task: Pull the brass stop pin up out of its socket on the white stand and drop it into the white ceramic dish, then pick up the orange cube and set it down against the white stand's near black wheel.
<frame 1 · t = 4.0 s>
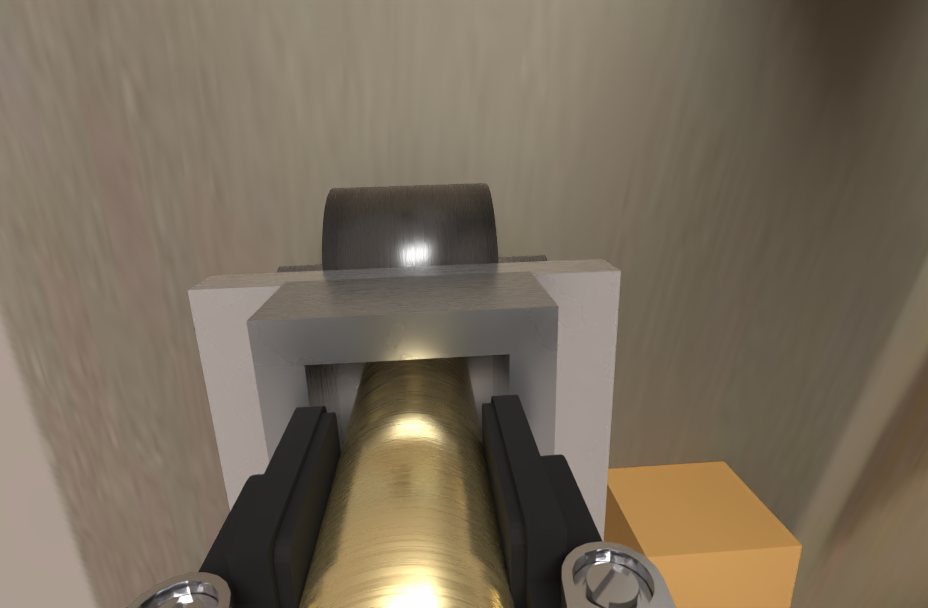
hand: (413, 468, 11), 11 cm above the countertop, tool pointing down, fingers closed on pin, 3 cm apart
pin: (416, 387, 14), point 8 cm above the countertop, touching gripper, white stand
white stand: (422, 371, 22), on the countertop
orange cube: (657, 508, 25), on the countertop
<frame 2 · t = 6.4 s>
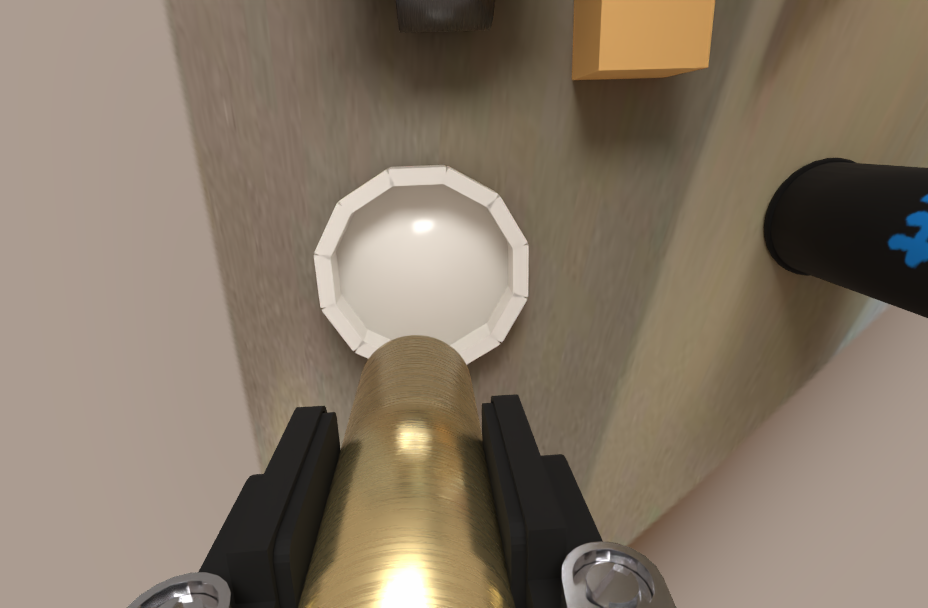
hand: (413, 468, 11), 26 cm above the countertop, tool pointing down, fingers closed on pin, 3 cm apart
aerosol can: (817, 217, 37), on the countertop
pin: (415, 387, 14), point 22 cm above the countertop, touching gripper
dish: (424, 265, 36), on the countertop
orange cube: (620, 35, 32), on the countertop
when the fingers open (6 cm above the countertop, at t = 9.1 s): pin drops 2 cm, resting on dish.
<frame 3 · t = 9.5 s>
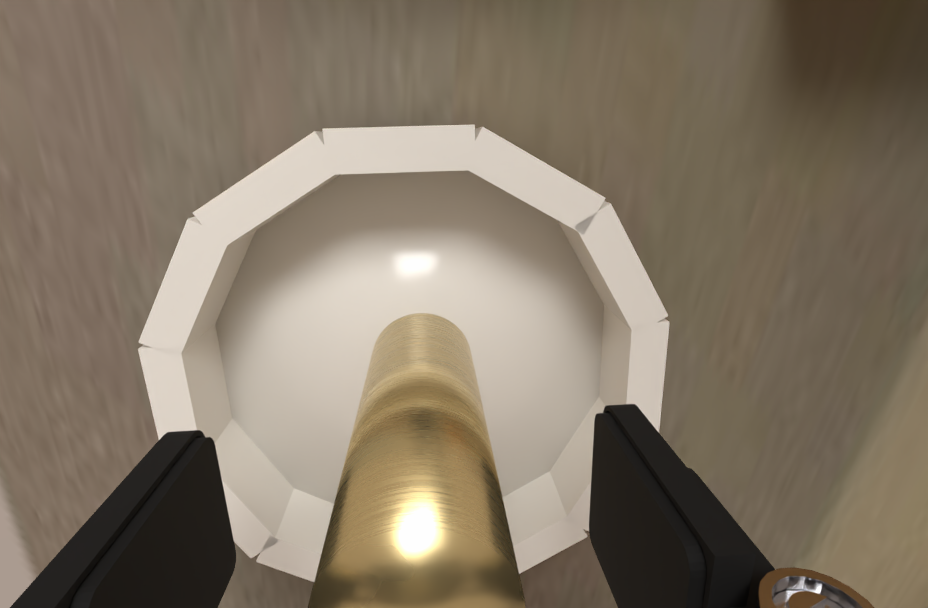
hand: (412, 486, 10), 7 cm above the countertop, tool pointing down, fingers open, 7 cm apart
pin: (421, 360, 16), point 1 cm above the countertop, touching dish
dish: (417, 351, 17), on the countertop
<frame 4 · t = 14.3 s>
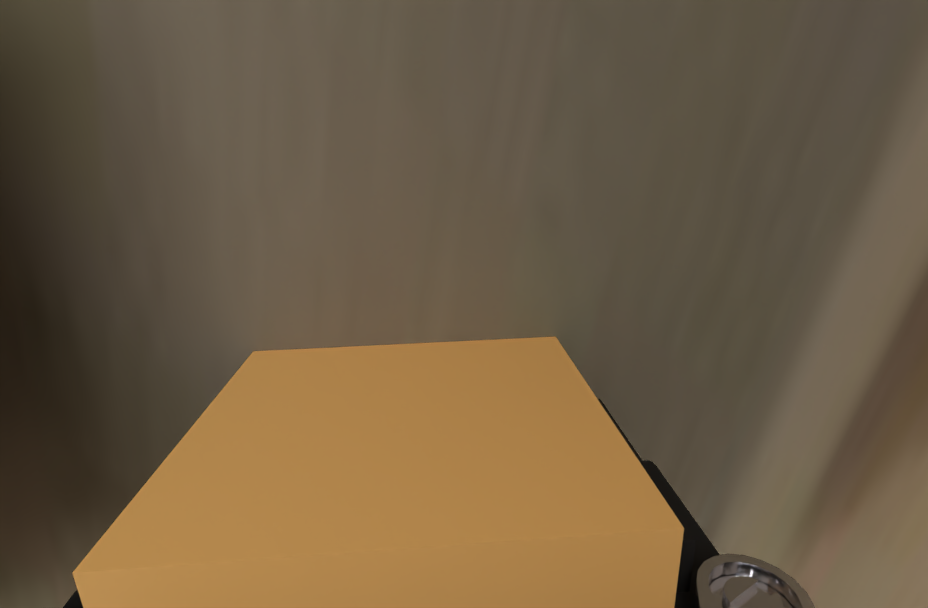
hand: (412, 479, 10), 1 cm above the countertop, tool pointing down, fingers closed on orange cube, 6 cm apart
orange cube: (413, 452, 11), on the countertop, touching gripper
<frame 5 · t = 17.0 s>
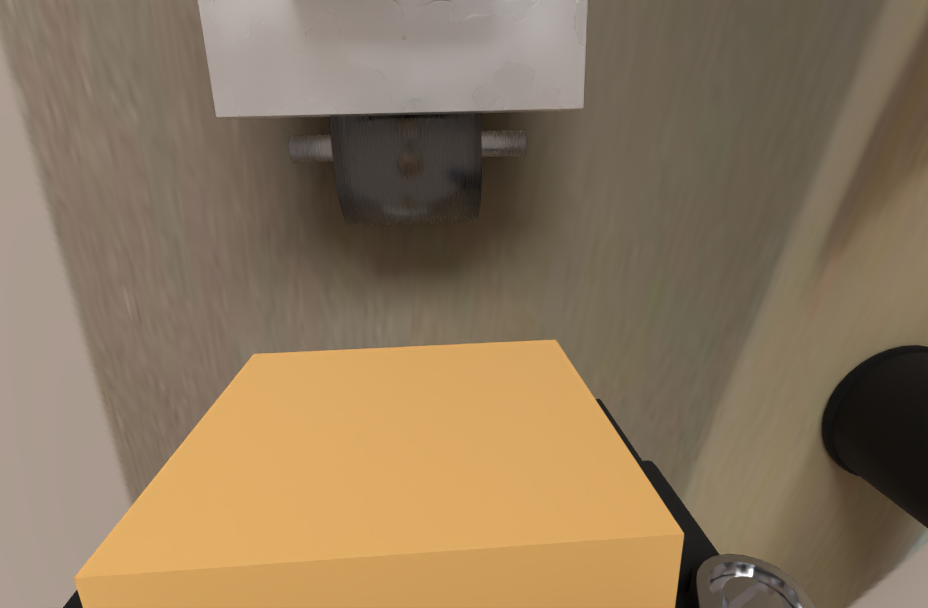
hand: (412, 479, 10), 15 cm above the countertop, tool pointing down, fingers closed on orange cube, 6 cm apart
aerosol can: (888, 410, 29), on the countertop
white stand: (404, 19, 22), on the countertop
orange cube: (413, 455, 11), point 15 cm above the countertop, touching gripper
when the fingers open (2 cm above the countertop, at t = 19.9 s): orange cube drops 1 cm, on the countertop.
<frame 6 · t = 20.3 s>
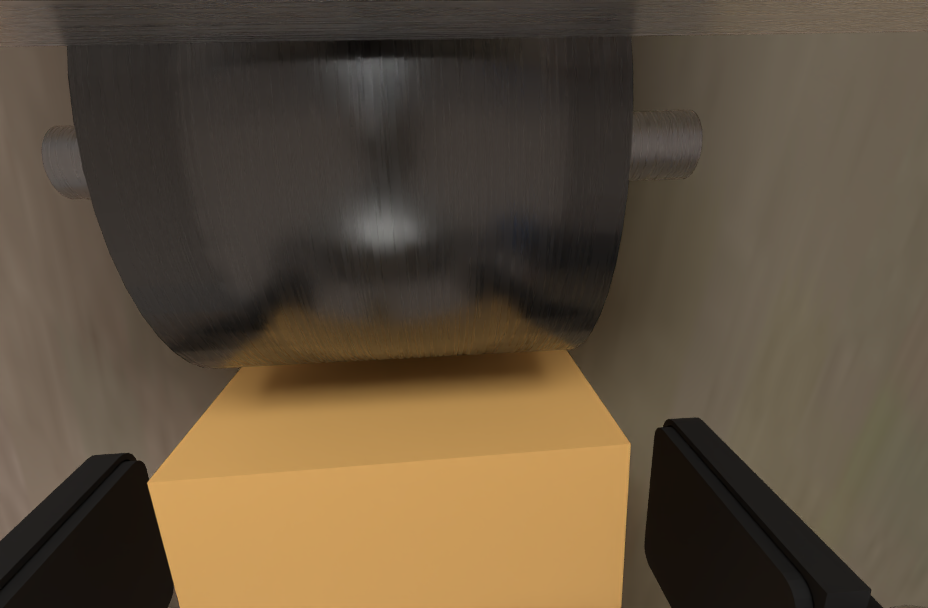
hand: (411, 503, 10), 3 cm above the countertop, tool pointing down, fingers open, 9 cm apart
orange cube: (416, 418, 12), on the countertop
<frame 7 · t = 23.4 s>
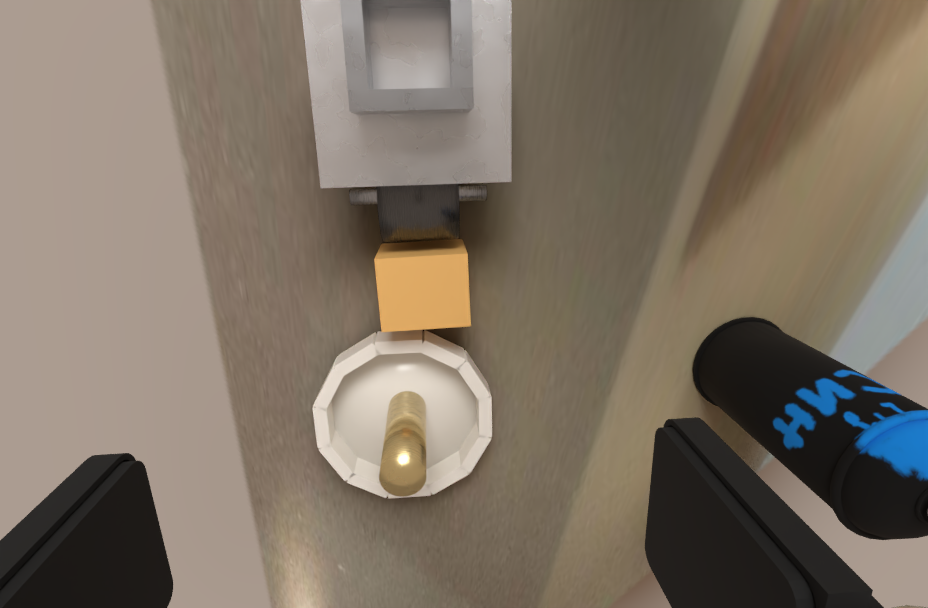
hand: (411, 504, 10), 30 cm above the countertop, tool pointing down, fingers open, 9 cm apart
aerosol can: (738, 361, 44), on the countertop
pin: (407, 408, 42), point 1 cm above the countertop, touching dish
white stand: (415, 117, 36), on the countertop
dish: (405, 404, 43), on the countertop
orange cube: (424, 273, 40), on the countertop
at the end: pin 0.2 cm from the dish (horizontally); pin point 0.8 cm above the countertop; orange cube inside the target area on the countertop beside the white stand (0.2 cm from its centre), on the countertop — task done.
